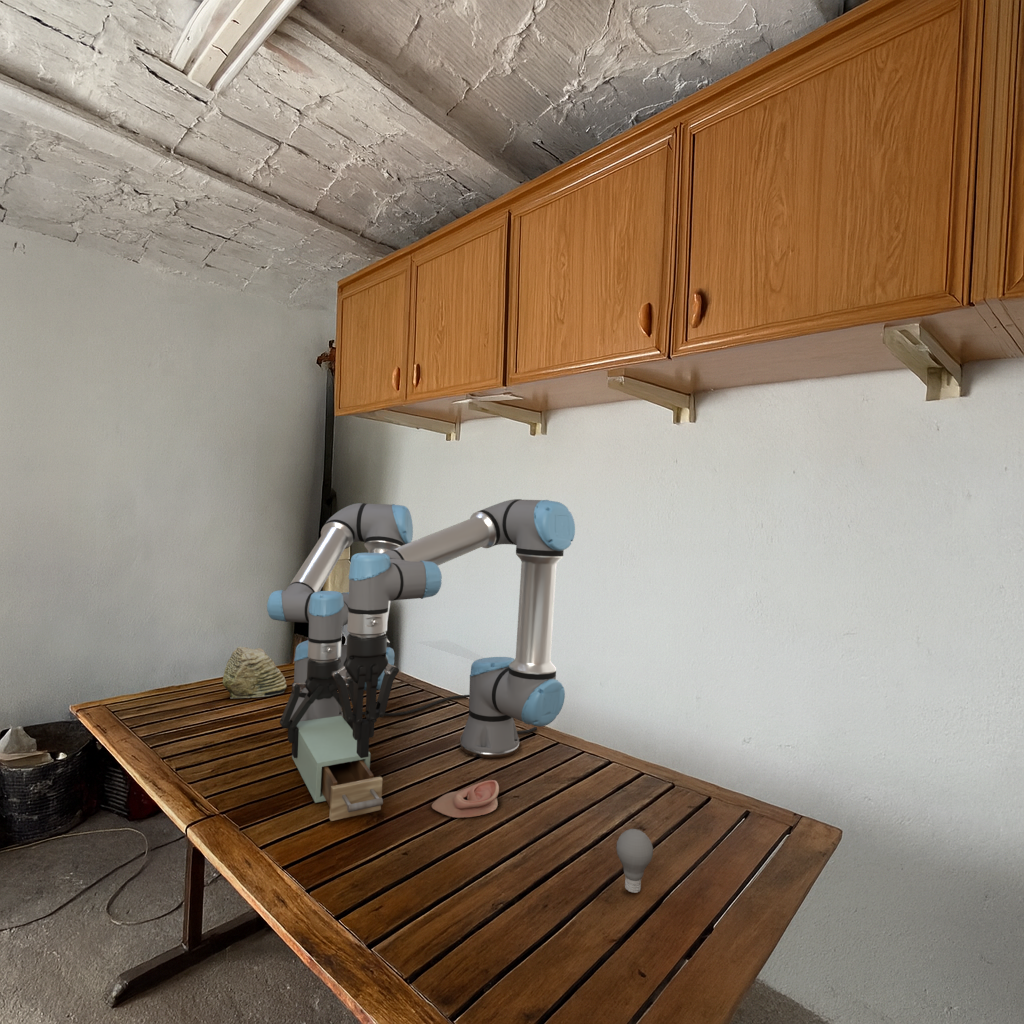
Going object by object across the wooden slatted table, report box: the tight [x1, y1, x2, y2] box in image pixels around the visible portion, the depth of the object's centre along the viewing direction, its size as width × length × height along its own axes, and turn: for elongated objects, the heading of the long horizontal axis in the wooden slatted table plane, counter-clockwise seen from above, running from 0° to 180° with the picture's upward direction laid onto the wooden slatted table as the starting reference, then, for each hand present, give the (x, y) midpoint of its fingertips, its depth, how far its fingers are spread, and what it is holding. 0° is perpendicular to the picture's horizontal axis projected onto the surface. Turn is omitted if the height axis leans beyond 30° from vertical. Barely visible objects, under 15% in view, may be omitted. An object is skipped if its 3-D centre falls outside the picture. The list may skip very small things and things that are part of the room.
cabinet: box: [291, 716, 371, 804], centre depth 142 cm, size 22×11×9 cm, turn 31°
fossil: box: [222, 646, 288, 699], centre depth 198 cm, size 9×18×15 cm, turn 132°
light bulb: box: [615, 828, 654, 894], centre depth 106 cm, size 6×6×10 cm
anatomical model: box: [431, 779, 500, 819], centre depth 132 cm, size 13×4×12 cm
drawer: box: [321, 760, 384, 822], centre depth 131 cm, size 26×10×6 cm, turn 31°
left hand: (321, 751), depth 148 cm, fingers closed on cabinet, 11 cm apart
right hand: (362, 754), depth 122 cm, fingers closed
